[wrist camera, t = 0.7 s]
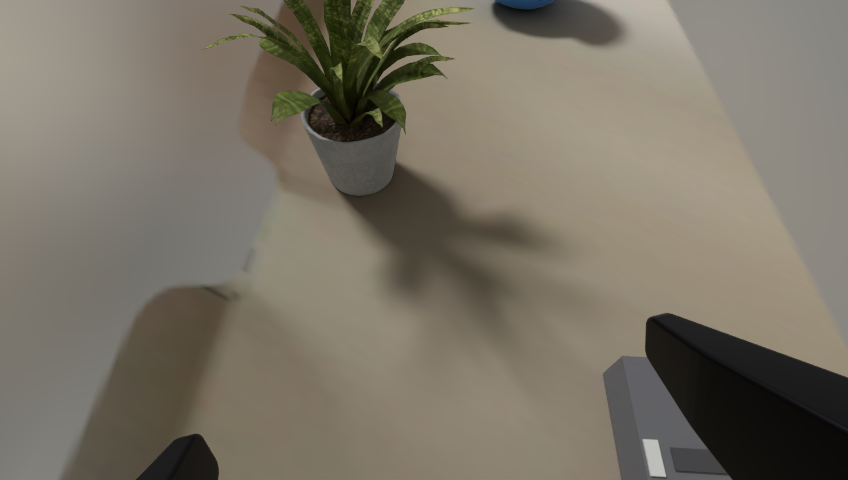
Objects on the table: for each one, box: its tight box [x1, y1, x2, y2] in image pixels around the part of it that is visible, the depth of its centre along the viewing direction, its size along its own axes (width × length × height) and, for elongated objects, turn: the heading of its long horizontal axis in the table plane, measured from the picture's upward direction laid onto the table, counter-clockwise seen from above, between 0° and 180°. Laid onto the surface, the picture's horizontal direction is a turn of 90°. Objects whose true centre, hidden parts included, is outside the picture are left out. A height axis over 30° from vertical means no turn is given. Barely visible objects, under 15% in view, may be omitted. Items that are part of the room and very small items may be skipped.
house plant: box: [205, 0, 473, 196], centre depth 28 cm, size 14×14×16 cm
